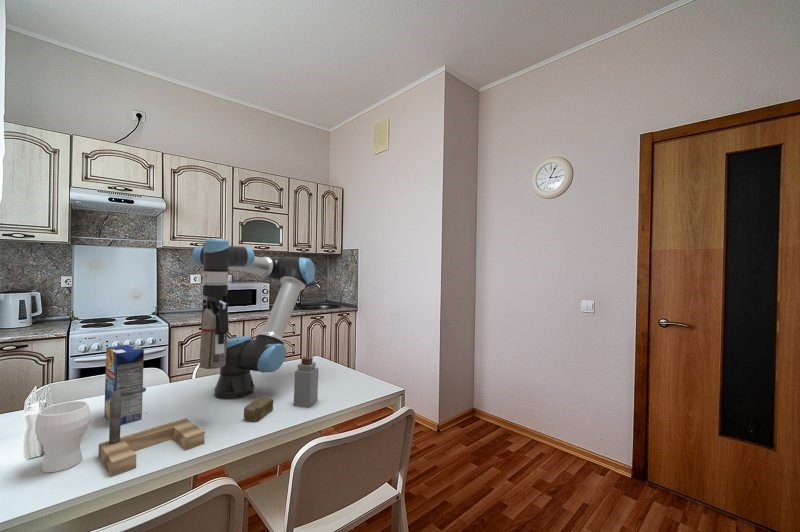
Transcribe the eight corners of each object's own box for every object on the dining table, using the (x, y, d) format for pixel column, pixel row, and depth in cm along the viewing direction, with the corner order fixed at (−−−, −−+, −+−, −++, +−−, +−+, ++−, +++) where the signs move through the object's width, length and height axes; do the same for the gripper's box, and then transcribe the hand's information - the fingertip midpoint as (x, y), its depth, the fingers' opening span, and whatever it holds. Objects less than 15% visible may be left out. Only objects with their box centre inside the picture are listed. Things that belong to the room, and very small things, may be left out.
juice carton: (104, 416, 121) (106, 347, 121) (130, 409, 127) (132, 344, 127) (114, 427, 114) (116, 353, 114) (141, 419, 120) (144, 349, 120)
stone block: (242, 421, 121) (242, 407, 121) (260, 408, 132) (260, 395, 132) (257, 423, 120) (258, 408, 120) (274, 409, 132) (274, 396, 132)
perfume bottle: (309, 407, 134) (311, 360, 134) (293, 405, 135) (295, 359, 135) (317, 401, 140) (318, 356, 140) (301, 399, 142) (303, 355, 142)
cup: (47, 480, 86) (49, 419, 86) (24, 469, 90) (26, 411, 90) (98, 458, 96) (99, 404, 96) (75, 450, 100) (77, 397, 100)
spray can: (220, 361, 124) (221, 305, 124) (231, 366, 119) (232, 307, 119) (194, 366, 118) (196, 307, 118) (204, 371, 113) (206, 309, 113)
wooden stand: (98, 456, 97) (100, 393, 97) (185, 428, 114) (187, 375, 114) (112, 476, 88) (114, 407, 88) (204, 443, 105) (206, 385, 105)
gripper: (190, 282, 122) (189, 347, 122) (218, 286, 109) (216, 359, 109) (213, 282, 128) (211, 344, 128) (241, 285, 115) (239, 354, 115)
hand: (213, 351), depth 119 cm, fingers closed on spray can, 8 cm apart
